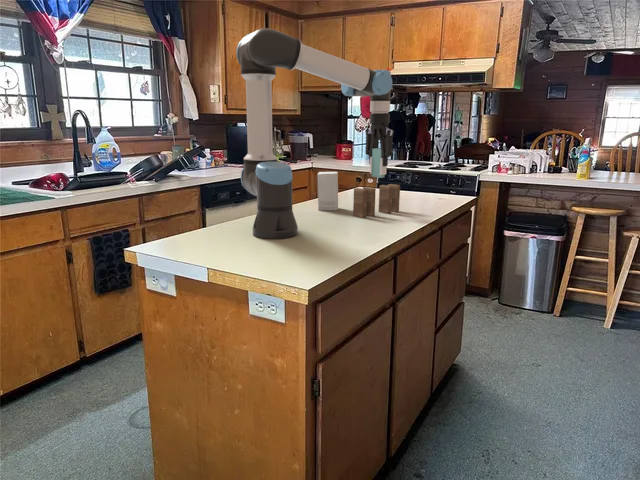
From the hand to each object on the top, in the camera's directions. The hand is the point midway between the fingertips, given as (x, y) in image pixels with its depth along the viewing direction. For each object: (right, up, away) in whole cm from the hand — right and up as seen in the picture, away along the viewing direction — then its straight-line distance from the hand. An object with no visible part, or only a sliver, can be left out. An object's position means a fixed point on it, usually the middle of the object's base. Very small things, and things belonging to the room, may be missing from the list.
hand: (378, 173), depth 188 cm
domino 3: (+4, -15, +7) cm, 17 cm away
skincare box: (-19, -13, +13) cm, 27 cm away
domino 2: (-4, -16, +2) cm, 17 cm away
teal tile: (0, -1, 0) cm, 1 cm away
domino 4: (+7, -14, +10) cm, 19 cm away
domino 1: (-7, -17, -1) cm, 19 cm away
